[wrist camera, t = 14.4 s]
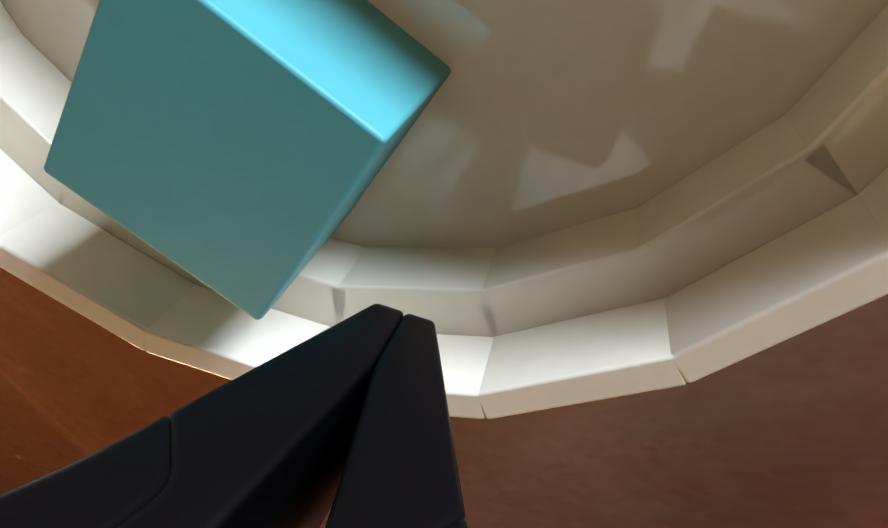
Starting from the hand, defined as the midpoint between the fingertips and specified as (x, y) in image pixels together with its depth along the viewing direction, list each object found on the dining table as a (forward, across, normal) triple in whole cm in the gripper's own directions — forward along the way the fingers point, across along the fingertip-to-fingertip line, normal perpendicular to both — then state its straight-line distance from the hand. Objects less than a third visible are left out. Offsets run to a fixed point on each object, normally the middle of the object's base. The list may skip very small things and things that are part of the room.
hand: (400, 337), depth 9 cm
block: (+5, +4, -1) cm, 6 cm away
